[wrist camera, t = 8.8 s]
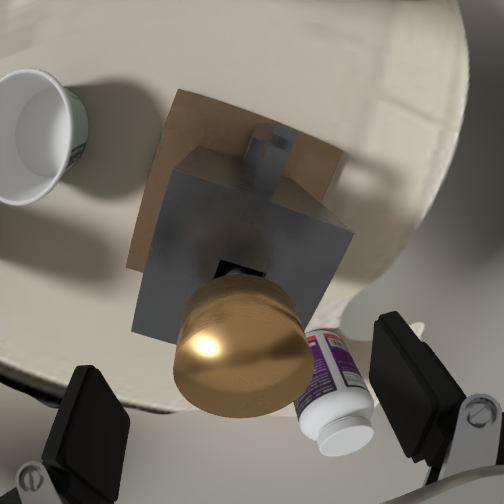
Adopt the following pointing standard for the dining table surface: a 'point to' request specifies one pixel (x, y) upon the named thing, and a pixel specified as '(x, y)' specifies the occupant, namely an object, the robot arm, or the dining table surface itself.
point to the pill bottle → (335, 398)
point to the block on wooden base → (232, 211)
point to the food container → (37, 134)
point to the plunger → (241, 347)
